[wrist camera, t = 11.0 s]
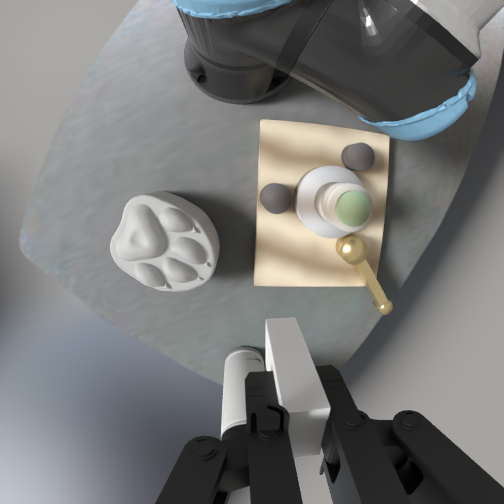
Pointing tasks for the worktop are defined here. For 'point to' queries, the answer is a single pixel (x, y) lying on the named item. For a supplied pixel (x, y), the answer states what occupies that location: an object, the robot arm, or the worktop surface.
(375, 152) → the base
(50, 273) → the worktop surface
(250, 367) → the travel mug
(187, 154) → the worktop surface
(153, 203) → the paw-shaped mold
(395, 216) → the worktop surface
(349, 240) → the brass ball lever
